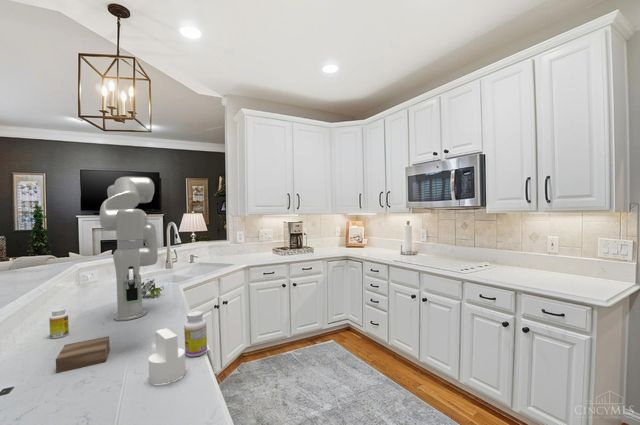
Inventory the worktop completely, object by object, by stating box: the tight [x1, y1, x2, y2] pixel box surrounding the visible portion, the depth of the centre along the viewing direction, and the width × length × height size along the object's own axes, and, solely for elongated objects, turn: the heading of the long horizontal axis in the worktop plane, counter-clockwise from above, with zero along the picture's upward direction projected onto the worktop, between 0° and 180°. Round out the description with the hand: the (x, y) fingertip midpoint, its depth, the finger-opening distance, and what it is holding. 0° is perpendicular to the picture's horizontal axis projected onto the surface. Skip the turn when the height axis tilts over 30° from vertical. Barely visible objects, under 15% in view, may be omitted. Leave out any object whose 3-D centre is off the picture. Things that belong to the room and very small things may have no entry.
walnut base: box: [55, 335, 111, 374], centre depth 98 cm, size 12×12×4 cm
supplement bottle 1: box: [48, 307, 70, 339], centre depth 118 cm, size 6×6×10 cm
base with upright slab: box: [148, 327, 186, 385], centre depth 85 cm, size 9×9×12 cm
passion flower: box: [141, 278, 165, 299], centre depth 174 cm, size 11×11×12 cm
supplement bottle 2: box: [183, 310, 208, 358], centre depth 99 cm, size 7×7×13 cm
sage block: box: [123, 279, 142, 305], centre depth 104 cm, size 5×5×7 cm
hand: (132, 297), depth 104 cm, fingers closed on sage block, 5 cm apart
